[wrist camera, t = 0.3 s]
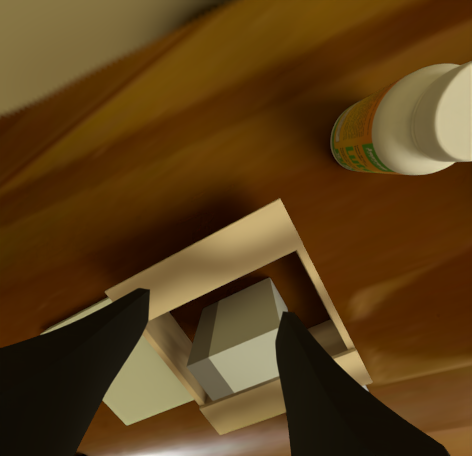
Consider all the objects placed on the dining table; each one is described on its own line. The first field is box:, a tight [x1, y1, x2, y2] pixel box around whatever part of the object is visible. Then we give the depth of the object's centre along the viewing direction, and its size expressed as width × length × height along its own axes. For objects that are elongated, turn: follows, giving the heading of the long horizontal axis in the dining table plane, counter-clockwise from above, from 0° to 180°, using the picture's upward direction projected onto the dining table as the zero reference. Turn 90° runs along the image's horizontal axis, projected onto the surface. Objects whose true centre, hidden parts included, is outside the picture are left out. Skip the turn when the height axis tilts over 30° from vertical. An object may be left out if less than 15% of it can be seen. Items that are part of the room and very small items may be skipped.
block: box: [186, 277, 288, 401], centre depth 20 cm, size 4×8×7 cm, turn 119°
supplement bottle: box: [330, 61, 472, 175], centre depth 13 cm, size 5×5×10 cm
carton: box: [105, 198, 373, 435], centre depth 21 cm, size 19×16×4 cm
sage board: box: [40, 297, 195, 425], centre depth 25 cm, size 16×12×1 cm
